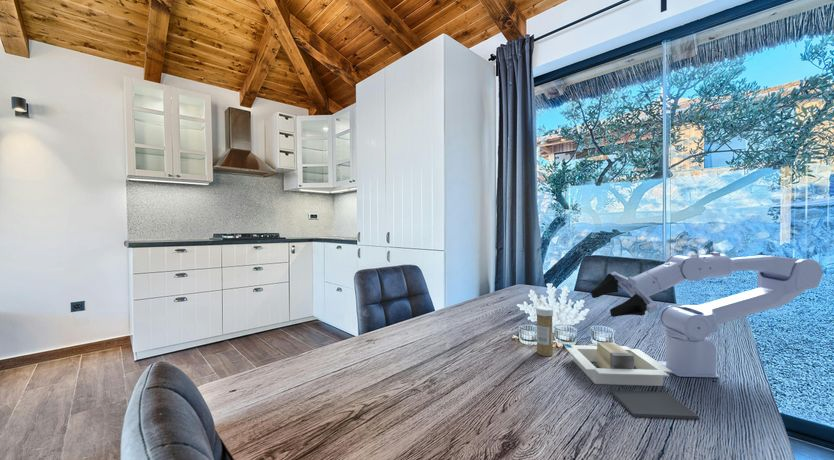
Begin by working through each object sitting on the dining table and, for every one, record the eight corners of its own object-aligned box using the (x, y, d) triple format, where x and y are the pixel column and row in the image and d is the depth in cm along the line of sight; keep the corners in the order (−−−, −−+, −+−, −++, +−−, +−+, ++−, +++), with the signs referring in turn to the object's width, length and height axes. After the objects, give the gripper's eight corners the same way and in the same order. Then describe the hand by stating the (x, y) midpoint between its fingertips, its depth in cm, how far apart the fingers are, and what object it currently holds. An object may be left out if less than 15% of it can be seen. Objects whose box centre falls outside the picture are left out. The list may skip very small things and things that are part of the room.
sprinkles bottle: (556, 354, 95) (556, 308, 94) (546, 357, 92) (546, 310, 92) (542, 349, 99) (542, 304, 98) (532, 352, 96) (532, 307, 96)
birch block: (614, 364, 88) (614, 342, 87) (633, 381, 79) (634, 356, 79) (596, 364, 88) (596, 341, 88) (613, 380, 79) (614, 355, 79)
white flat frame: (634, 358, 91) (634, 346, 91) (678, 390, 74) (678, 375, 74) (563, 357, 93) (563, 344, 93) (590, 387, 76) (590, 373, 75)
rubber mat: (667, 394, 72) (667, 391, 72) (698, 419, 63) (698, 416, 63) (610, 392, 73) (610, 390, 73) (633, 416, 64) (633, 413, 64)
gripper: (628, 256, 88) (581, 276, 89) (674, 287, 75) (618, 311, 76) (631, 275, 92) (586, 295, 92) (675, 308, 79) (622, 331, 79)
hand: (601, 303), depth 84 cm, fingers open, 7 cm apart
